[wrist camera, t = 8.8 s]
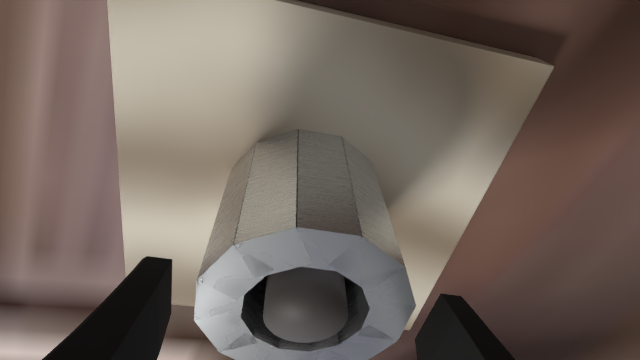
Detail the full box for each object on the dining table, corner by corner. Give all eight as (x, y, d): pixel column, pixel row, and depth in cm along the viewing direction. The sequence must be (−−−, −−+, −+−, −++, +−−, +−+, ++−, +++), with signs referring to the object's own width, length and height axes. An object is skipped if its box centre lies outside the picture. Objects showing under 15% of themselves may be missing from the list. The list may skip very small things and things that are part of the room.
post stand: (405, 312, 19) (441, 446, 14) (135, 281, 17) (66, 424, 12) (537, 57, 12) (699, 139, 7) (120, -42, 10) (-50, -24, 5)
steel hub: (356, 262, 16) (376, 380, 12) (222, 244, 15) (190, 365, 11) (398, 147, 13) (446, 248, 9) (236, 117, 12) (200, 213, 8)
